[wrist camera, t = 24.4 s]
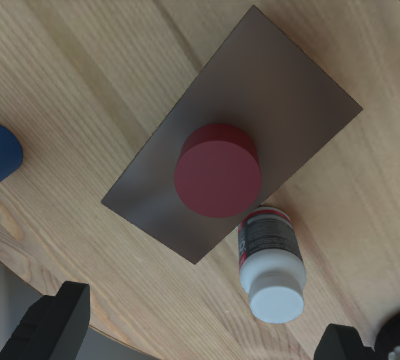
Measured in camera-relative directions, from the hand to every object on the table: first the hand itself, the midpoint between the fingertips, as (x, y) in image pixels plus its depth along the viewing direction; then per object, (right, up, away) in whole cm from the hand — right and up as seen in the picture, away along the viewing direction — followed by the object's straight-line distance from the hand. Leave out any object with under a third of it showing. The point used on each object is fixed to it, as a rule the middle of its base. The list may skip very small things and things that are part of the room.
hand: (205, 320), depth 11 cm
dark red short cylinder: (+1, +6, +12) cm, 13 cm away
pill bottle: (+6, 0, +22) cm, 23 cm away
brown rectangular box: (+2, +9, +17) cm, 20 cm away
